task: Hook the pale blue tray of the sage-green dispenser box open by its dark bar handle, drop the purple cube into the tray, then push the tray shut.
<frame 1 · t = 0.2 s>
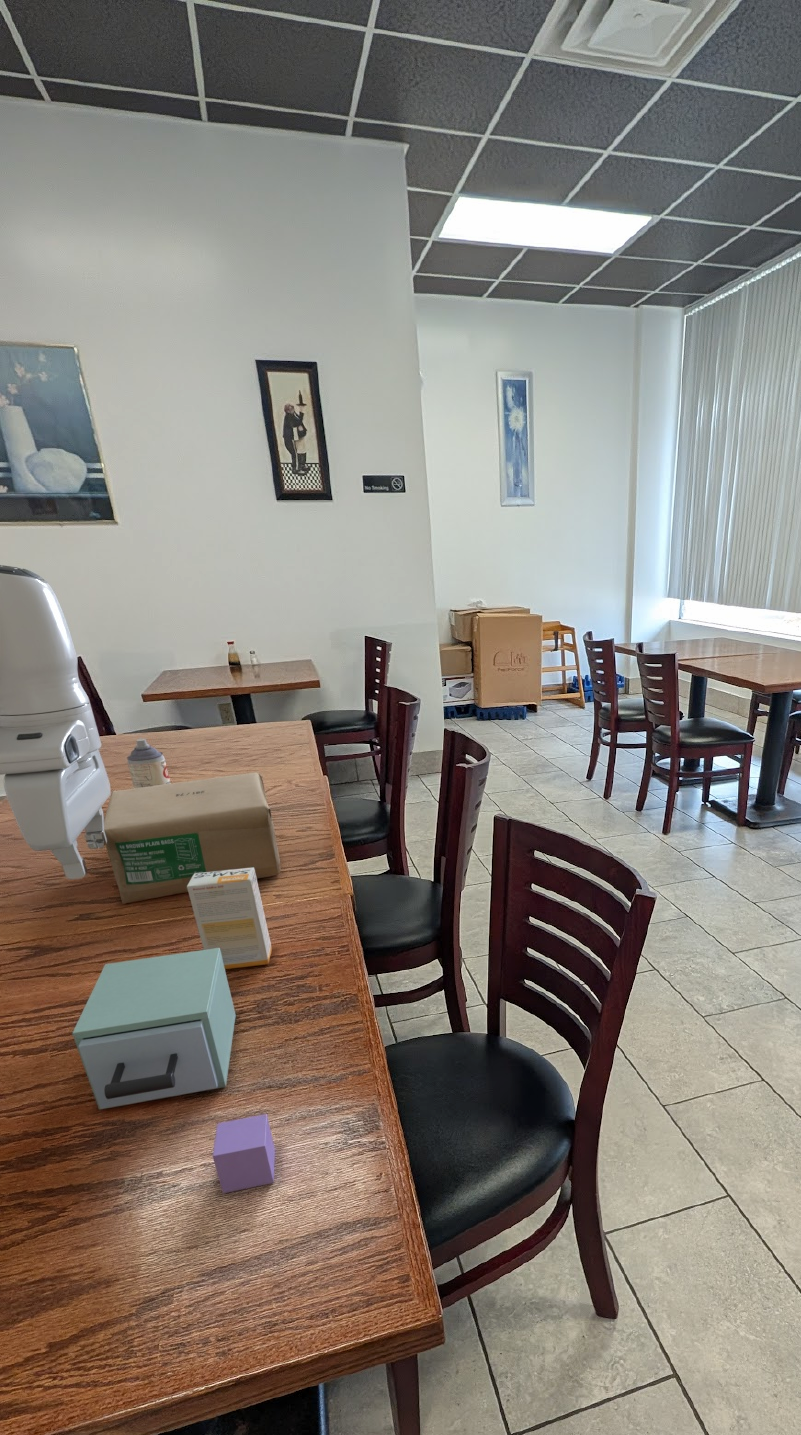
hand: (88, 861, 84), 21 cm above the table, tool pointing down, fingers open, 8 cm apart
aerosol can: (165, 837, 157), on the table
supplement box: (241, 961, 107), on the table
dispenser: (173, 1058, 86), on the table
purple cube: (249, 1170, 70), on the table
paper package: (204, 868, 140), on the table
dispenser tray: (157, 1044, 80), point 5 cm above the table, slide at 0.0 cm
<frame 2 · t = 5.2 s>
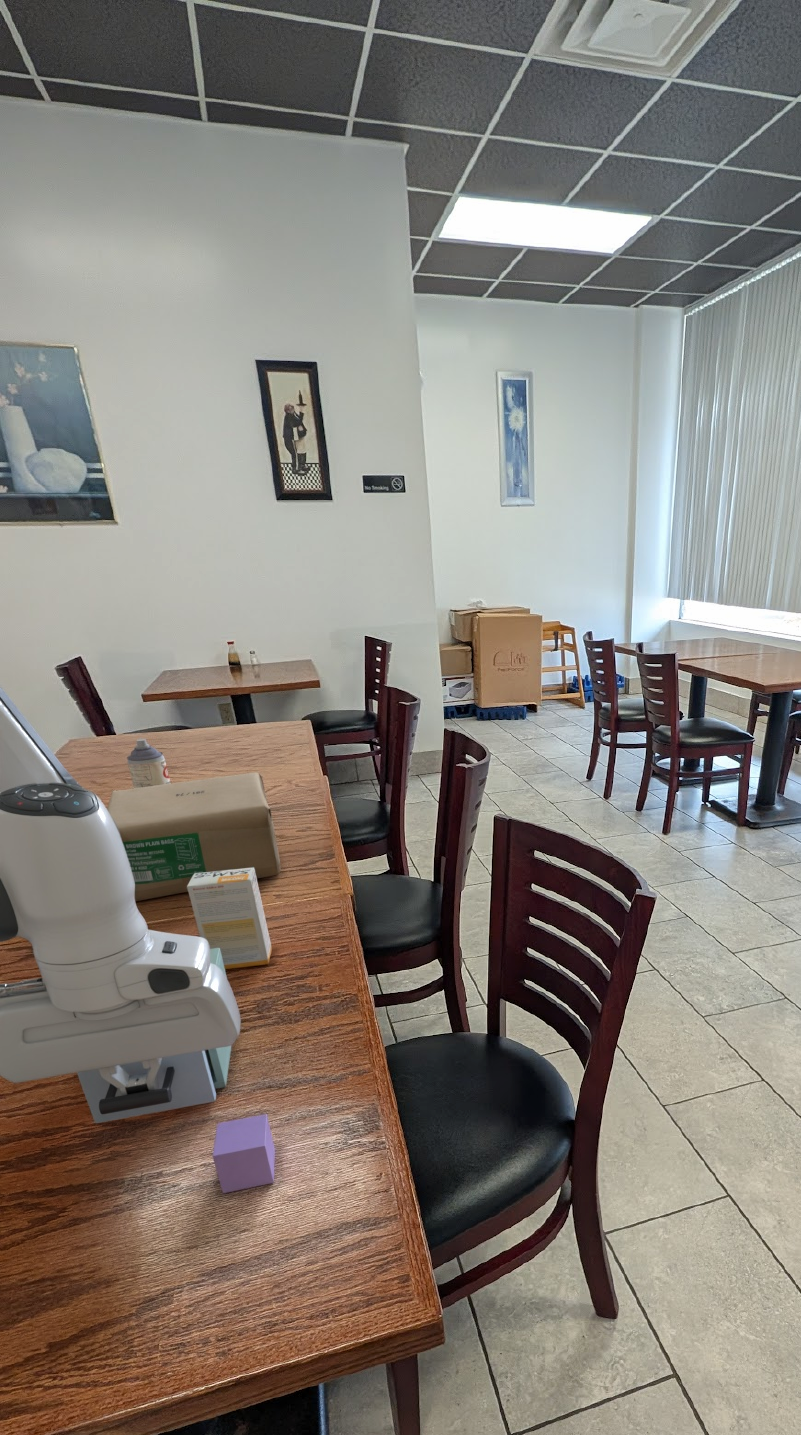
hand: (142, 1094, 72), 5 cm above the table, tool pointing down, fingers closed, pressing on dispenser tray
dispenser tray: (153, 1056, 78), point 5 cm above the table, slide at 2.3 cm, touching gripper
everything else where it was.
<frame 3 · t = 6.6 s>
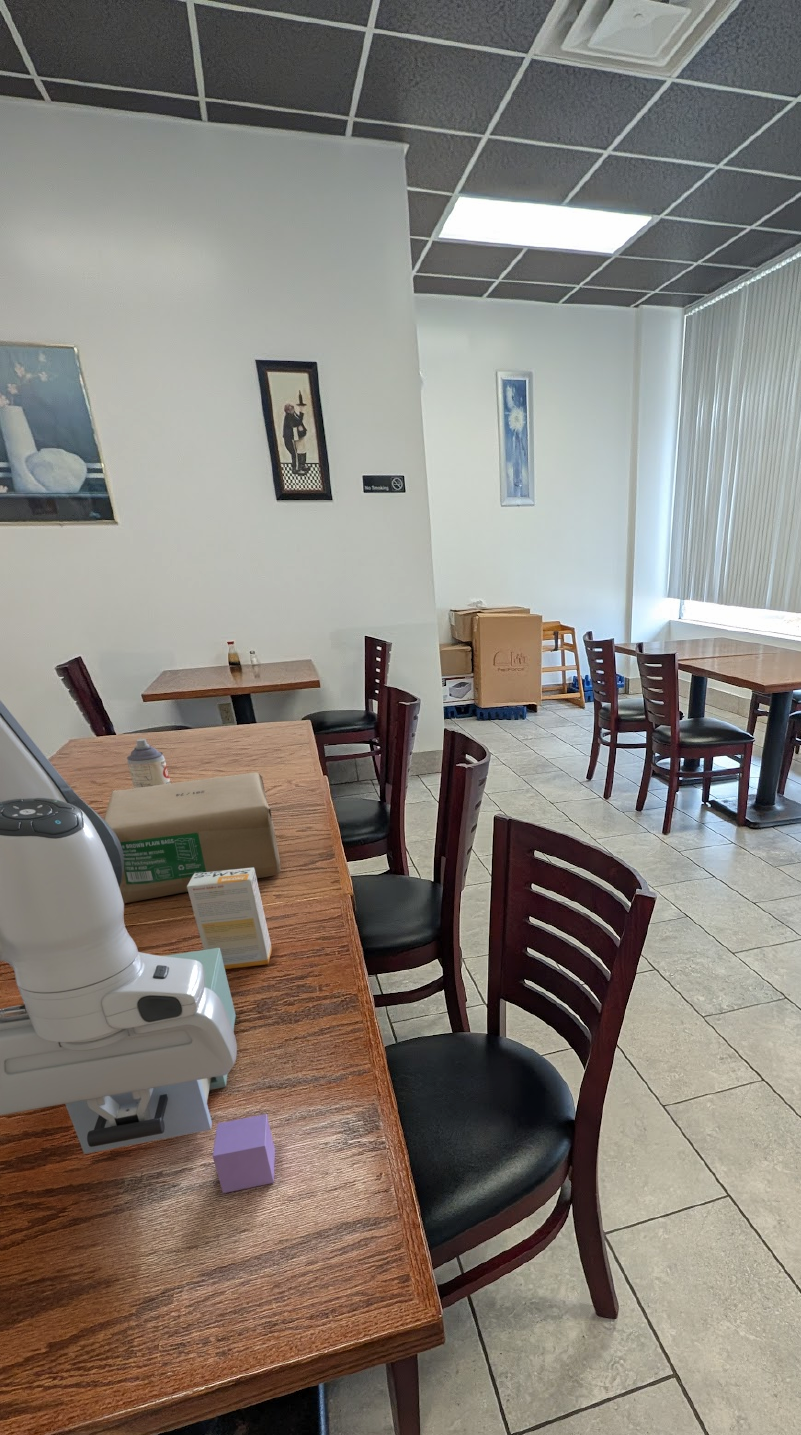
hand: (132, 1125, 68), 5 cm above the table, tool pointing down, fingers closed, pressing on dispenser tray
dispenser tray: (146, 1082, 74), point 5 cm above the table, slide at 6.7 cm, touching gripper
everything else where it was.
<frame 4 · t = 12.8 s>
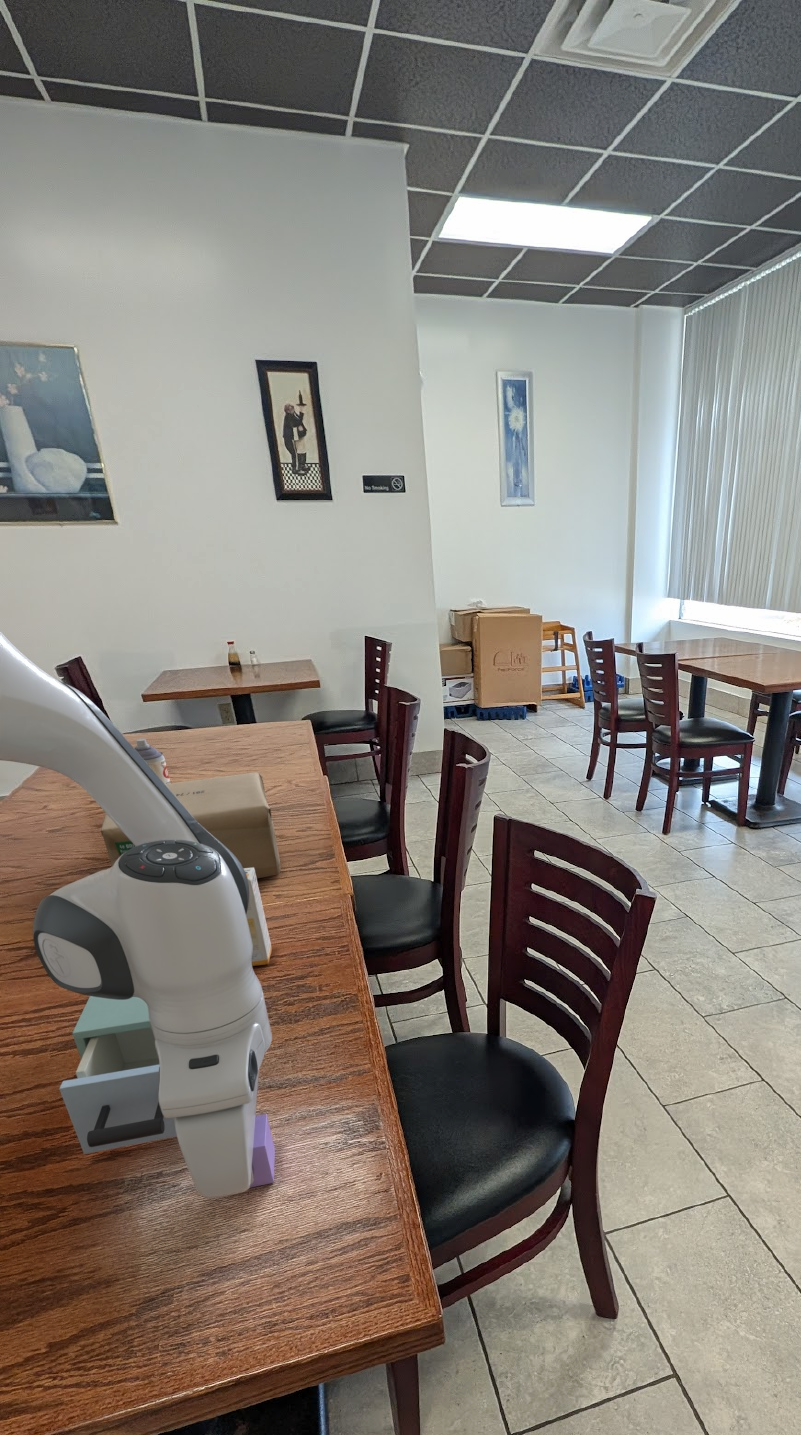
hand: (246, 1157, 69), 2 cm above the table, tool pointing down, fingers closed on purple cube, 4 cm apart
purple cube: (249, 1170, 70), on the table, touching gripper
dispenser tray: (146, 1082, 74), point 5 cm above the table, slide at 6.7 cm
everything else where it was.
when the fingers open (11 cm above the table, at t = 17.3 s): purple cube drops 7 cm, resting on dispenser tray.
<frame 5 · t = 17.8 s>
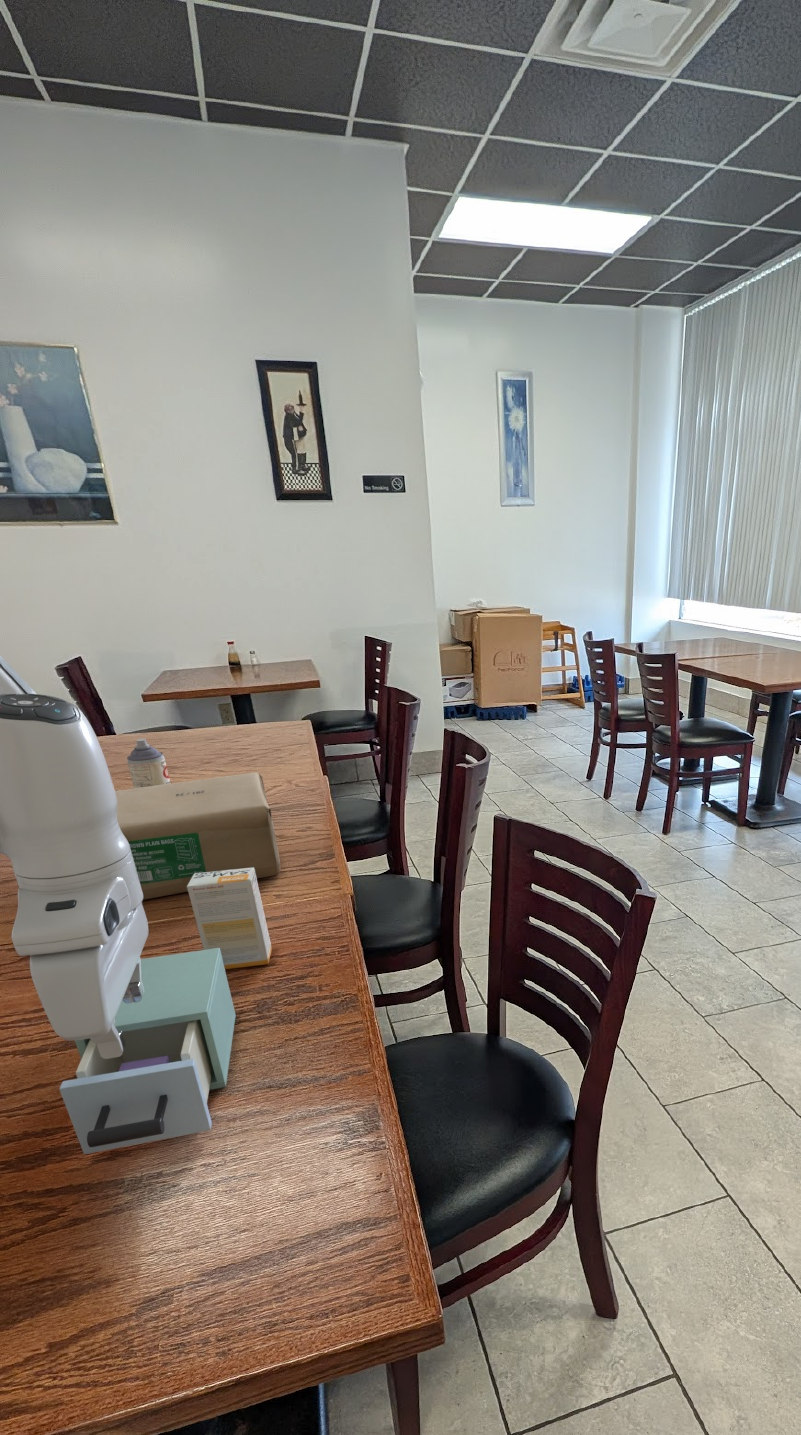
hand: (125, 1024, 71), 12 cm above the table, tool pointing down, fingers open, 8 cm apart
purple cube: (152, 1107, 75), point 2 cm above the table, touching dispenser tray
dispenser tray: (146, 1082, 74), point 5 cm above the table, slide at 6.7 cm, touching purple cube
everything else where it was.
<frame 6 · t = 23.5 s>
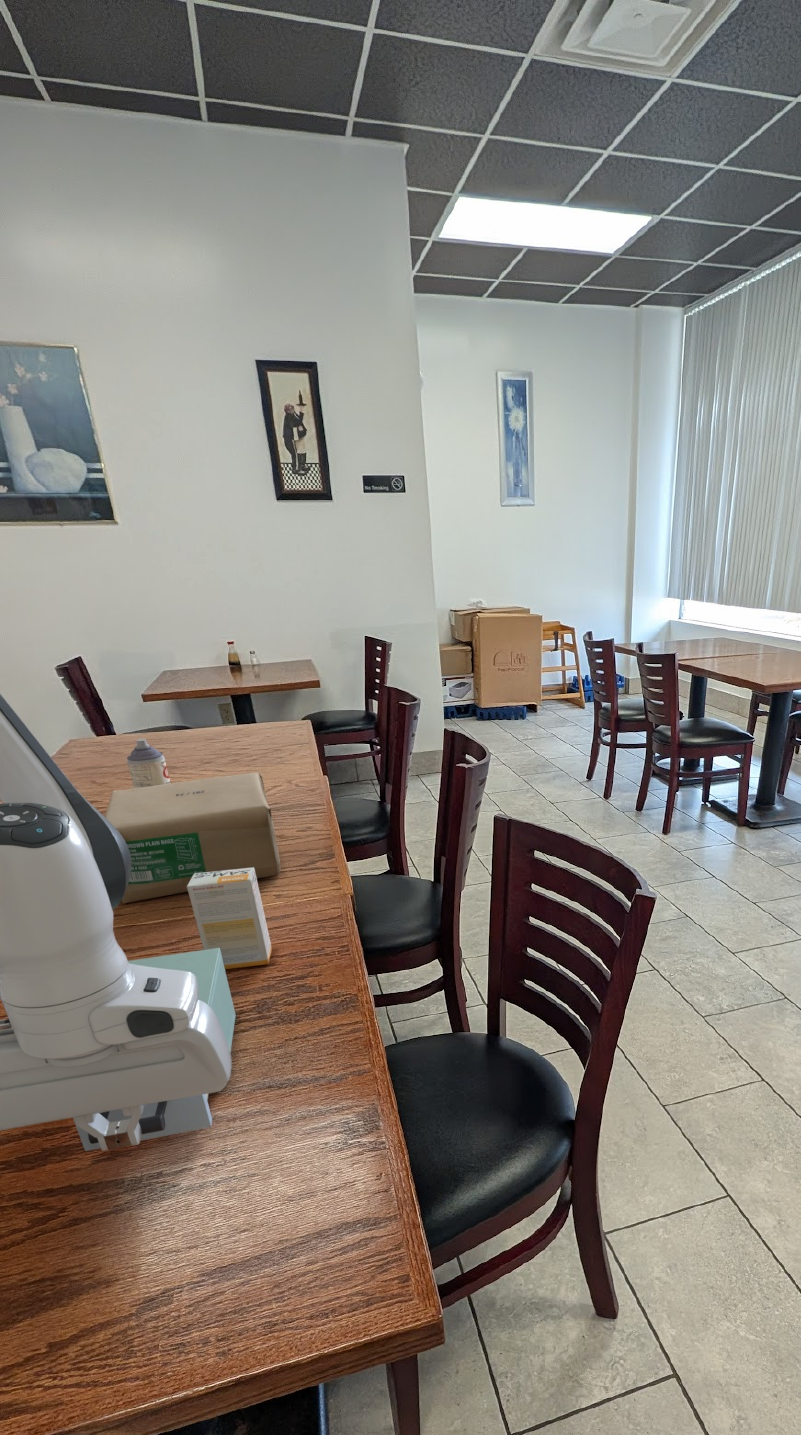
hand: (122, 1143, 66), 6 cm above the table, tool pointing down, fingers closed, pressing on dispenser tray
dispenser tray: (146, 1079, 75), point 5 cm above the table, slide at 6.3 cm, touching purple cube, gripper
everything else where it was.
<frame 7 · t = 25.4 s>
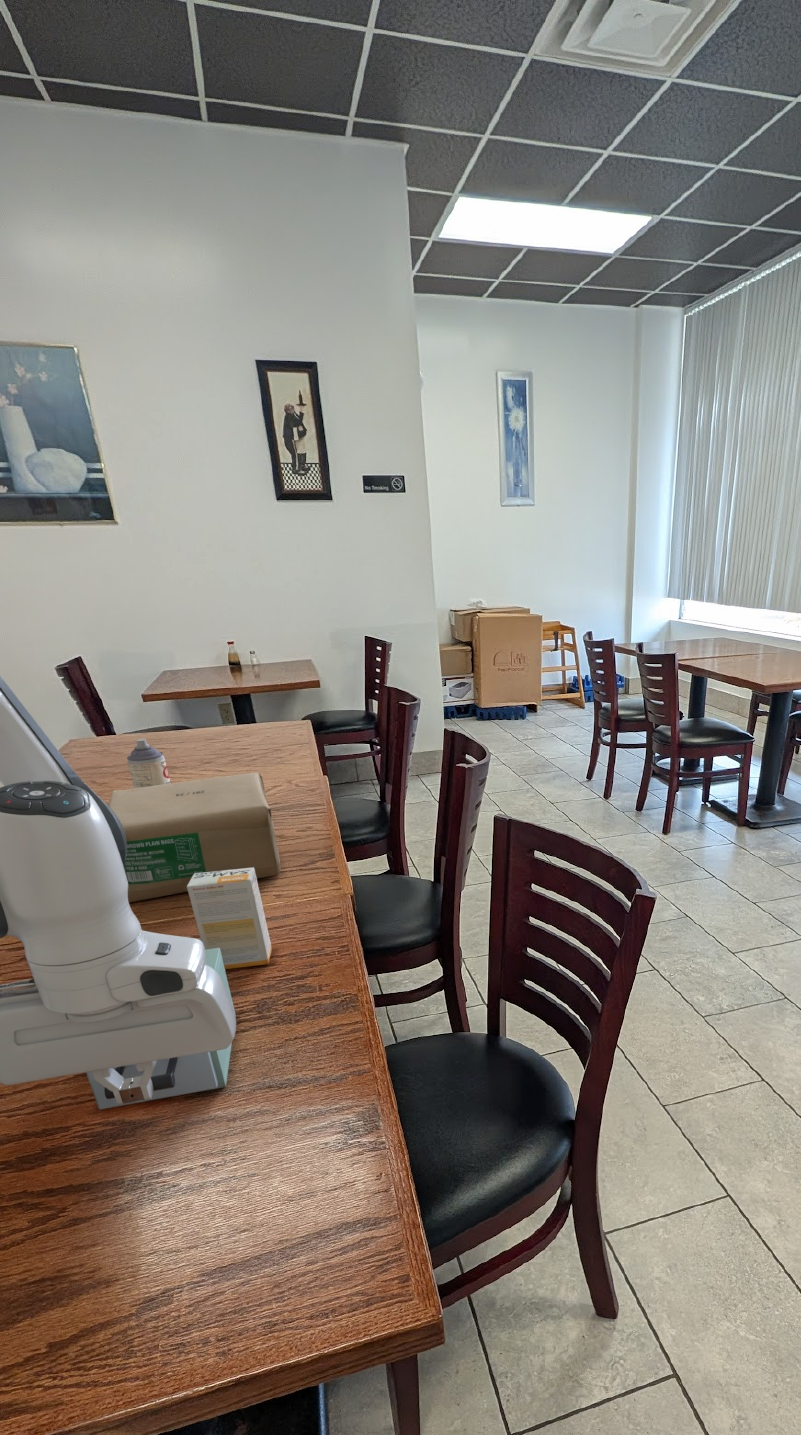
hand: (136, 1097, 71), 6 cm above the table, tool pointing down, fingers closed, pressing on dispenser tray
purple cube: (162, 1067, 81), point 2 cm above the table, touching dispenser tray
dispenser tray: (157, 1044, 80), point 5 cm above the table, slide at 0.0 cm, touching purple cube, dispenser, gripper
everything else where it was.
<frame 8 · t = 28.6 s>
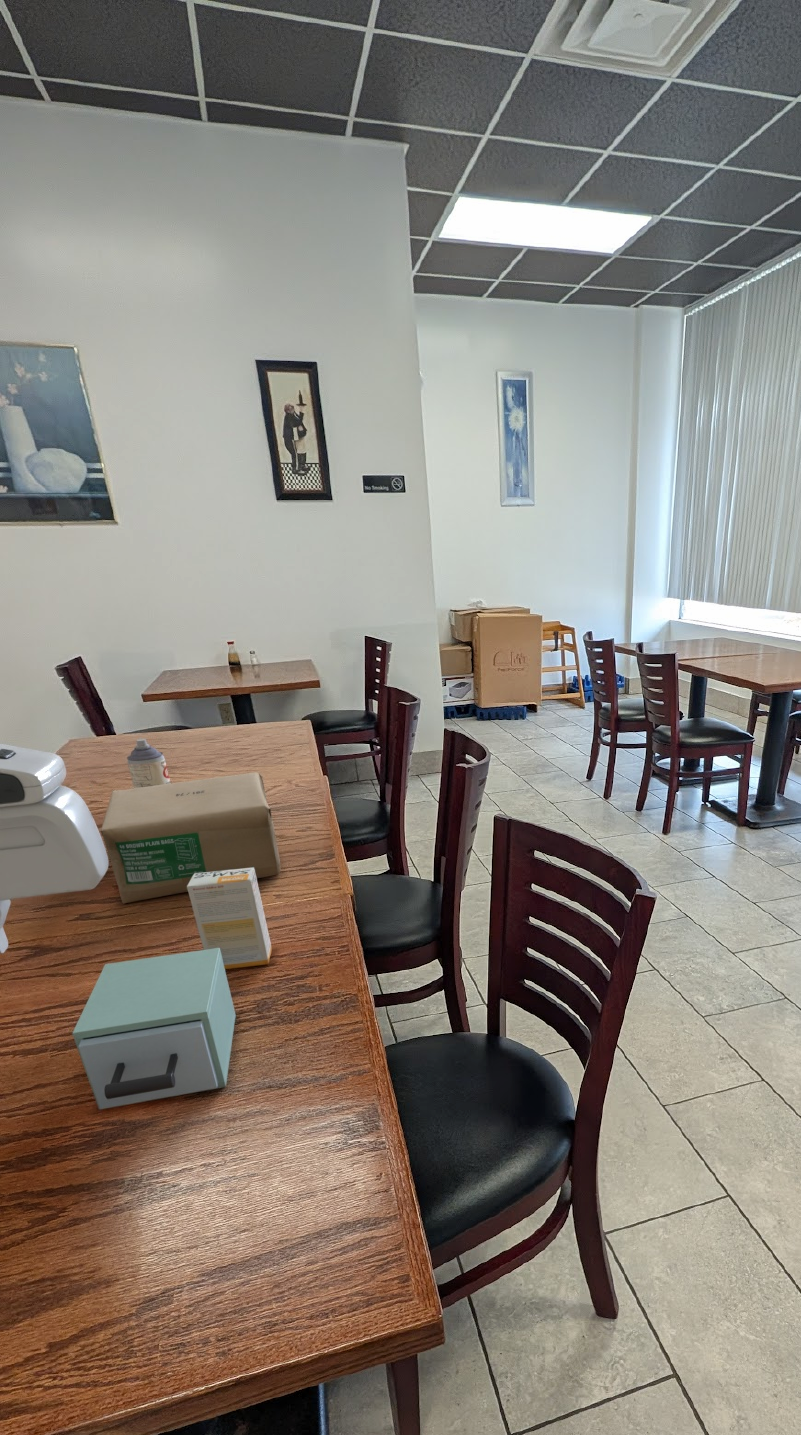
dispenser tray: (157, 1044, 80), point 5 cm above the table, slide at 0.0 cm, touching purple cube, dispenser
everything else where it was.
at the end: dispenser tray pulled out 6.7 cm at the most during the clip, back to where it started at the end; purple cube inside the target area in the dispenser (3.3 cm from its centre), point 2.0 cm above the dispenser's base; dispenser tray slide at 0.0 cm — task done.
